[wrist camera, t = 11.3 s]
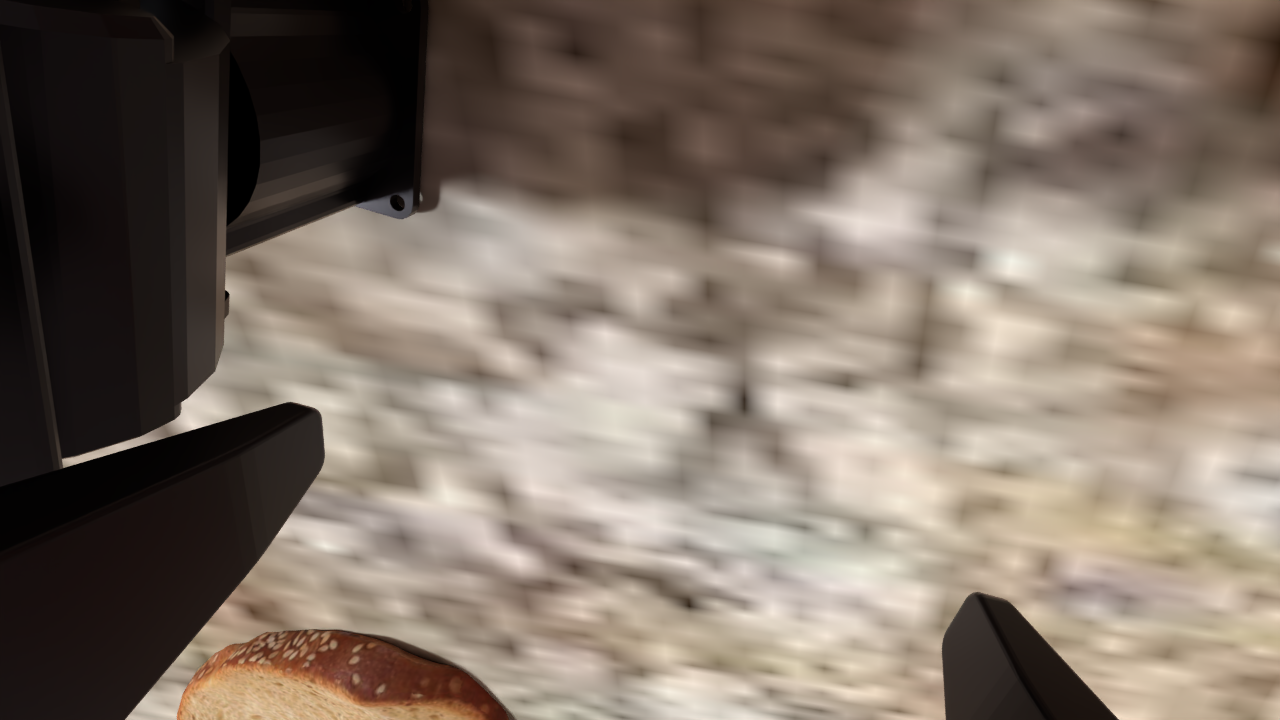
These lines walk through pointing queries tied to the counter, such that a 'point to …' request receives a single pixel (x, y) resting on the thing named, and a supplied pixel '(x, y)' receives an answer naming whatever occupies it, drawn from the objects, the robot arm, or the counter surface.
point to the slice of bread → (330, 682)
